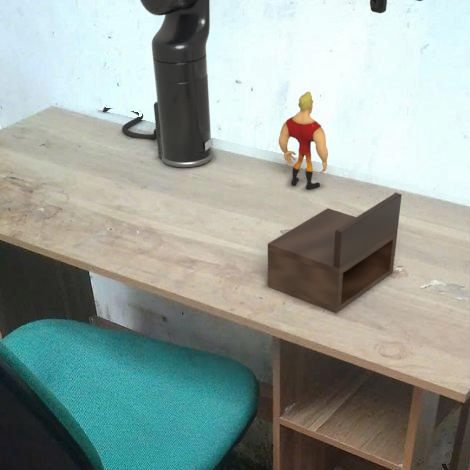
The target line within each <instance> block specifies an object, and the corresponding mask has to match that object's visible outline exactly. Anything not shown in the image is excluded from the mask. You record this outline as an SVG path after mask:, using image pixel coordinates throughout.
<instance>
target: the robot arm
mask: <svg viewBox="0 0 470 470" xmlns="http://www.w3.org/2000/svg"><path fill="white" fill-rule="evenodd" d="M139 1H140V4H141V5H142V6H143V8H144V9H145V10H146V11H147V12H148V13H149V14H151V15H154V16H158V17H160V16H164V18H163V21H162V24H161V26H160V28H159V29H158V30H157V32H155V34H154V36H153V37H152V40H151V52H152V54H151V55H152V62H153V73H154V82H155V83H154V84H155V93H156V101H155V102H154V104H153V112H154V114H153V115H154V123H155V128H154V129H153V133H152V134H151V133H149V134H148V133H138V132H134V131H132V130H129V128H131V127H132V126H134V125H136V124H138V123H139V122H142V120H143V118H144V114H143V113H142V116H141V117H138V116H139V113H138V112H134V111H130V113H131V112H132V113H133V114H134V115H136V116H137V117H135V118H134V119H132V120H130V121H128V122H126V123H125V124H124V125H123V126H122V128H121V130H122V133H124V134H125V135H126V136H128V137H130V138H134V139H140V140H141V139H143V140H155V139H156V143H157V151H158V158H159V159H161V160H162V163H164V164H165V165H168V166H170V167H173V168H193V167H198V166H202V165H205V164H207V163H209V162H210V161H211V160H212V159H213V149H212V146H213V143H214V141H213V137H212V131H211V130H212V129H211V114H210V93H209V78H208V77H209V76H208V60H207V58H208V57H207V43H208V39H209V36H210V30H211V29H210V27H211V18H210V17H211V13H210V12H211V11H210V9H211V8H210V6H211V5H210V4H211V3H210V1H211V0H139ZM416 1H417V2H422V1H423V0H416ZM387 4H388V0H369V7H370V11H371V12H373V13H376V14H383V13H385V12H386V11H387V6H388V5H387ZM111 109H112V108H106V107H105V106H104V107H103V108H102V113H108V111H110V110H111Z"/></svg>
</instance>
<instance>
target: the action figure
mask: <svg viewBox="0 0 470 470" xmlns="http://www.w3.org/2000/svg"><path fill="white" fill-rule="evenodd" d="M297 105H298V108H299V111H298V112H296V114H295V115H294V116H291V117H289V118H287V120H285V122H283V124H282V126H281V129H280V131H279V136H278V146H279V148H280V150H281V152H282V153H284V154H283V159H284V161H285V163H286V164H287V165H288V166H292V165H293V164H294V165H293V167H292V173H291V175H292V179H291V184H290V185H291V186H292V187H293V186H294V187H295V186H297V184H298V182H299V181H300V178H299V177H298V174H299V172H300V170H301V166H302V163H303V161H304V158H305V162H306V167H305V172H304V173H305V178H306V179H305V180H306V186H305V189H306V190H312V189H317V188H320V186H321V184H320V182H314V183H313V182H312V180H313V179H312V178H313V173H314V172H313V170H314V169H313V163H312V142H313V143H315V151H316V153H317V155H318V157H319V158H320V160H321V164H322V170H320V172H319V173H320V174H323V173H324V172H325V171H326V170H327V168H328V161H327V160H328V157H329V150H328V148H327V138H326V133H325V130H324V129H323V127H322V125H321V124H320V123H319V122H317V121H316V120H315V119H314V118H312V117H311V113H312V111H313V105H314V100H313V95H312V93H311V91H306V92H305V93H304V94H302V95H301V96H300V97H299V98H298V103H297ZM290 138H293V139H295V140H296V141H297V142H298V157H297V162H296V163H295V162H294V161H296V158H295V157H294V156H296V155H297V153H295V151H293V150H288V149H289V148H288V143H289V140H290Z"/></svg>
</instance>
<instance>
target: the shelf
mask: <svg viewBox="0 0 470 470" xmlns="http://www.w3.org/2000/svg"><path fill="white" fill-rule="evenodd" d="M402 195H403V194H401V193H398V192H394V193H392V194H391V195H390V196H388V197H386V198H385V199H383V200H382V201H379V203H377V204H375V205H373V206H372V207H370V208H369V209H367V210H365V211H363V212H362V213H361V214H359V215H357V216H354V215H351V214H347V213H345V212H342V211H338V210H335V209H332V208H328V207H327V208H326V209H324V210H322V211H321V212H319V213H317V214H315V215H313V216H312V217H310V218H308V219H306V220H305V221H304V222H302V223H300V224H298V225H297V226H295V227H293V228H292V229H290V230H289V231H287V232H285V233H284V234H281V235H280V236H278V237H277V238H275V239H273V240H272V241H270V242H268V243H267V287H268V288H270V289H273V290H276V291H278V292H281V293H282V294H283V293H284V294H286V295H288V296H292V297H294V298H296V299H299V300H301V301H304V302H307V303H309V304H312V305H314V306H317V307H320V308H322V309H325V310H327V311H330V312H332V313H335V314H337V313H340V311H342V310H343V309H345V308H346V307H347V306H349V305H350V304H351V303H353V302H354V301H356V300H357V299H358V298H360V297H362V296H363V295H364V294H366V293H367V292H369V291H370V290H371V289H372V288H374V287H375V286H377V285H378V284H380V283H381V282H382V281H383V280H385V279H387V278H388V277H389V276H391V275H392V274H393V273H394V266H395V258H396V248H397V239H398V233H399V231H398V229H399V221H400V215H401V214H400V213H401V205H402V197H403V196H402Z"/></svg>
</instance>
